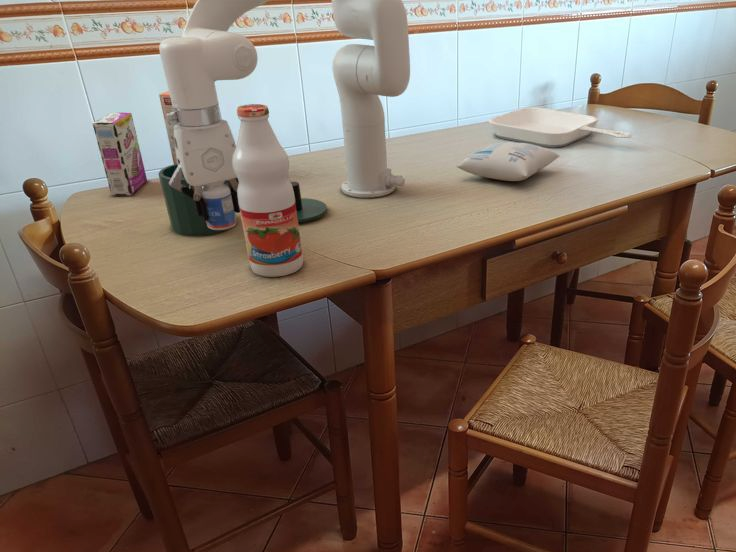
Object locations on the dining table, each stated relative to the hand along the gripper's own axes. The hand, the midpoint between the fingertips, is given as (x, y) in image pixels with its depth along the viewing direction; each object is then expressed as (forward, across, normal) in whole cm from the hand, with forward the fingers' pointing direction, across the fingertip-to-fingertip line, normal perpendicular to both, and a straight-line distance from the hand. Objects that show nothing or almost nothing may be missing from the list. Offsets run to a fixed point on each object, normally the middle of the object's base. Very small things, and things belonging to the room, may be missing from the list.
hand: (219, 213), depth 125 cm
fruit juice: (+7, +4, -15) cm, 17 cm away
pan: (+9, +111, +18) cm, 113 cm away
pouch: (+8, +73, 0) cm, 74 cm away
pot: (+7, 0, +14) cm, 15 cm away
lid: (+6, +18, +8) cm, 21 cm away
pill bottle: (+2, 0, 0) cm, 2 cm away
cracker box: (+7, +12, +46) cm, 48 cm away
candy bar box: (+7, -5, +47) cm, 48 cm away
